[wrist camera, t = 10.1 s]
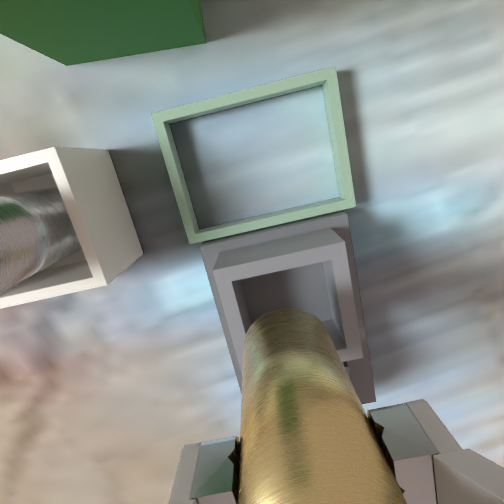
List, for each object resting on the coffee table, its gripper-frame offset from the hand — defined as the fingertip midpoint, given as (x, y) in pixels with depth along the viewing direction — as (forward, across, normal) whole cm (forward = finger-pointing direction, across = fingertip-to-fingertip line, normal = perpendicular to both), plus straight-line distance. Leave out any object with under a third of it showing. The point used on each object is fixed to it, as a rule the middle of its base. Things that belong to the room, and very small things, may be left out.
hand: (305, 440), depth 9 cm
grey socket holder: (+12, -1, +2) cm, 12 cm away
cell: (+5, 0, 0) cm, 5 cm away
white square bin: (+12, +10, -7) cm, 17 cm away
